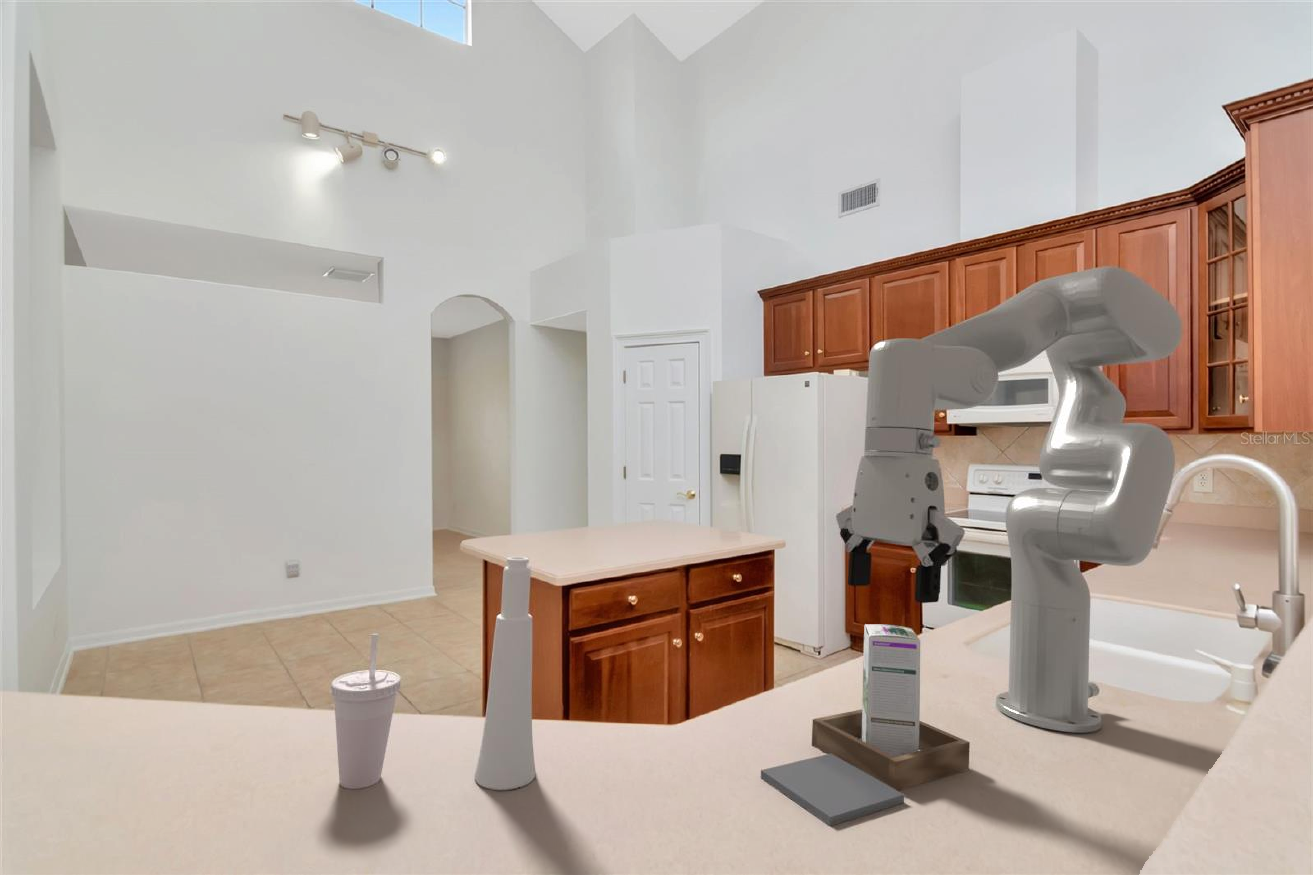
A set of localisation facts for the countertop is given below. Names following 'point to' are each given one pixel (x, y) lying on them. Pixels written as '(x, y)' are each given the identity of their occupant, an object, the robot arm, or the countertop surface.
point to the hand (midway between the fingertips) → (891, 593)
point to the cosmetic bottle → (510, 689)
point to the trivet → (832, 788)
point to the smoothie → (363, 721)
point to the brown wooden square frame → (931, 763)
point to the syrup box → (891, 689)
